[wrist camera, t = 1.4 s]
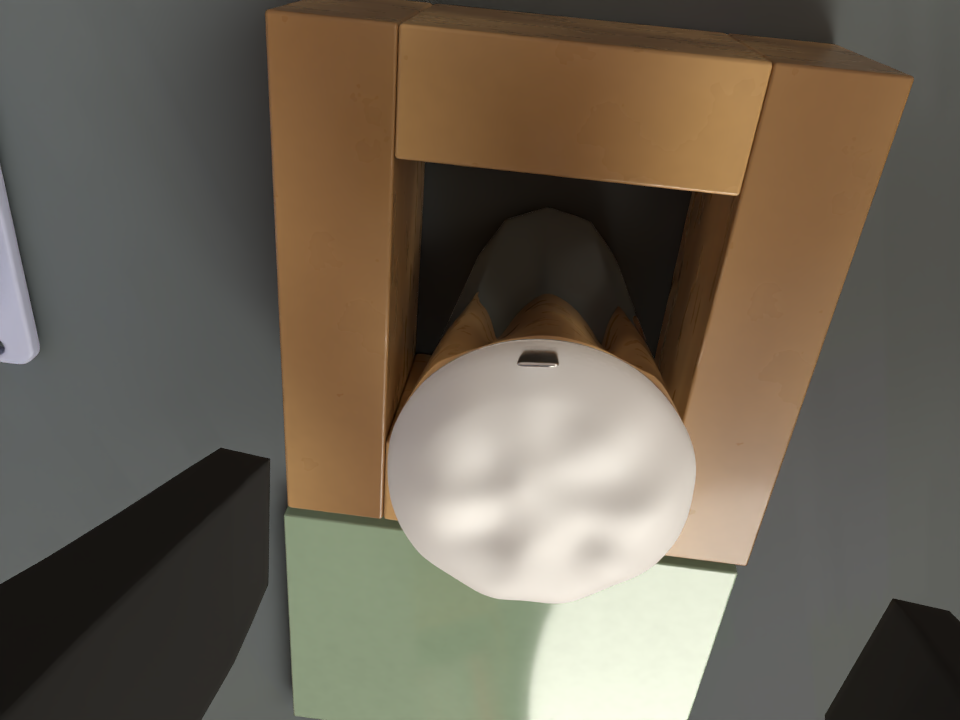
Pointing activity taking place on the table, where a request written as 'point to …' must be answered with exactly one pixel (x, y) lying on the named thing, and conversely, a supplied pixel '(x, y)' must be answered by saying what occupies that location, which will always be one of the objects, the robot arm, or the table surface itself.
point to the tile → (485, 635)
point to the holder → (573, 154)
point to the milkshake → (542, 426)
